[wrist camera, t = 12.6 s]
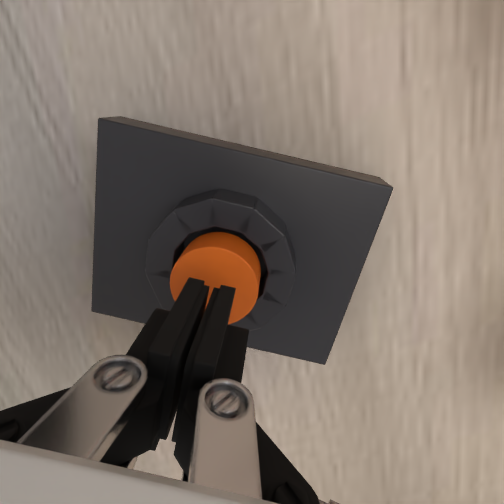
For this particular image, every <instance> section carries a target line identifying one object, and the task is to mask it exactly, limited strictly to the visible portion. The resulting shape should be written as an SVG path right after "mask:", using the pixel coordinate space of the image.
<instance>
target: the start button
mask: <svg viewBox="0 0 504 504" xmlns="http://www.w3.org/2000/svg"><path fill="white" fill-rule="evenodd" d="M260 276H261V267H260V262H259V259H258V256H257V254H256V253H255V251H254V250H253V248H252V247H251V246H250V245H249V244H248V243H247V242H245V241H244V240H243V239H241V238H239V237H238V236H235V235H233V234H229V233H225V232H211V233H206V234H203V235H201V236H199V237H197V238H195V239H194V240H193V241H192V242H190V243H189V245H188V246H187V247H186V248H185V250H184V251H183V253H182V254H181V256H180V257H179V259H178V260H177V262H176V263H175V265H174V267H173V269H172V272H171V276H170V289H171V294H172V296H173V299H174V301H176V300H177V298H178V296H179V294H180V292H181V291H182V289H183V287H184V285H185V283H186V282H187V280H188V278H189V277H191V278H195V279H199V280H204V281H205V283H204V285H207V286H209V293H208V298H207V303H206V307H207V304H208V302H209V299H210V296H211V294H212V291H213V289H214V287H216V288H220V286H221V285H225V286H229V287H234V288H236V291H235V295H234V300H233V304H232V309H231V313H230V317H229V322H228V324H232V323H234V322H237V321H239V320H241V319H242V318H244V317H245V316H246V315H247V314H248V313H249V312H250V311H251V310H252V308H253V307H254V305H255V303H256V301H257V298H258V292H259V284H260ZM205 309H206V308H205Z"/></svg>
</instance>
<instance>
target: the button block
mask: <svg viewBox="0 0 504 504" xmlns="http://www.w3.org/2000/svg"><path fill="white" fill-rule="evenodd" d="M392 191H393V187H392V186H390V185H389V184H388V183H386V182H385V181H384V180H382V179H381V178H380V177H375V176H371V175H367V174H363V173H358V172H354V171H350V170H346V169H341V168H337V167H333V166H329V165H324V164H320V163H316V162H312V161H307V160H303V159H299V158H295V157H291V156H286V155H282V154H278V153H274V152H269V151H265V150H261V149H257V148H252V147H248V146H244V145H240V144H235V143H231V142H227V141H223V140H218V139H214V138H210V137H206V136H201V135H197V134H193V133H189V132H184V131H180V130H176V129H172V128H167V127H163V126H159V125H155V124H150V123H146V122H142V121H138V120H134V119H129V118H125V117H121V116H120V117H107V118H99V119H98V140H97V169H96V197H95V226H94V255H93V284H92V312H96V313H101V314H105V315H110V316H114V317H118V318H123V319H127V320H131V321H136V322H140V323H144V324H146V322H147V321H148V319H149V318H150V316H151V314H152V313H153V311H154V310H155V309H156V308H159V309H164V310H168V311H170V310H171V309H172V307H173V305H174V303H175V301H174V299H173V296H172V294H171V289H170V276H171V272H172V269H173V267H174V265H175V263H176V262H177V260H178V259H179V257H180V256H181V254H182V253H183V251H184V250H185V248H186V247H187V246H188V245H189V243H190V242H192V241H193V240H194V239H195V238H197V237H199V236H201V235H203V234H206V233H211V232H225V233H229V234H233V235H235V236H238V237H239V238H241V239H243V240H244V241H245V242H247V243H248V244H249V245H250V246H251V247H252V248H253V250H254V251H255V253H256V254H257V256H258V259H259V262H260V267H261V276H260V284H259V292H258V298H257V301H256V303H255V305H254V307H253V308H252V310H251V311H250V312H249V313H248V314H247V315H246V316H245V317H244V318H242V319H241V320H239V321H237V322H234V323H232V324H228V325H233V326H237V327H241V328H245V329H249V335H248V341H247V347H249V348H254V349H258V350H262V351H267V352H271V353H276V354H280V355H284V356H289V357H293V358H297V359H302V360H306V361H310V362H315V363H319V364H324V365H325V364H326V361H327V359H328V356H329V353H330V351H331V348H332V346H333V343H334V341H335V338H336V335H337V333H338V330H339V328H340V325H341V322H342V320H343V317H344V315H345V312H346V310H347V307H348V304H349V302H350V299H351V297H352V294H353V291H354V289H355V286H356V284H357V281H358V278H359V276H360V273H361V271H362V268H363V266H364V263H365V260H366V258H367V255H368V253H369V250H370V247H371V245H372V242H373V240H374V237H375V234H376V232H377V229H378V227H379V224H380V222H381V219H382V216H383V214H384V211H385V209H386V206H387V203H388V201H389V198H390V196H391V193H392Z"/></svg>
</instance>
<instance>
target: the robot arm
mask: <svg viewBox="0 0 504 504" xmlns="http://www.w3.org/2000/svg"><path fill="white" fill-rule="evenodd" d="M204 283H205V281H204V280H199V279H195V278H191V277H189V278H188V280H187V282H186V283H185V285H184V287H183V289H182V291H181V292H180V294H179V296H178V298H177V300H176V301H175V303H174V305H173V307H172V309H171V310H170V311H168V310H164V309H159V308H156V309H155V310H154V311H153V313H152V314H151V316H150V318H149V319H148V321H147V322H146V324H145V326H144V327H143V329H142V330H141V332H140V333H139V335H138V337H137V338H136V340H135V341H134V343H133V344H132V346H131V348H130V349H129V351H128V352H127V354H126V355H114V356H109V357H106V358H104V359H101V360H99V361H98V362H97V363H95V364H94V365H93V366H92V367H91V368H90V369H89V370H88V371H87V372H86V373H85V374H84V375H83V376H82V377H81V378H80V379H79V380H78V381H77V382H76V383H75V384H74V385H73V386H72V387H70V388H67V389H64V390H61V391H58V392H55V393H52V394H49V395H46V396H44V397H41V398H38V399H35V400H32V401H29V402H26V403H23V404H20V405H17V406H14V407H11V408H8V409H5V410H2V411H0V504H327V503H325V502H323V501H321V500H319V499H318V497H317V495H316V493H315V492H314V490H313V489H312V487H311V486H310V485H309V484H308V482H307V481H306V480H305V479H304V478H303V477H302V475H301V474H300V473H299V472H298V471H297V469H296V468H295V467H294V466H293V465H292V464H291V462H290V461H289V460H288V459H287V458H286V457H285V455H284V454H283V453H282V452H281V451H280V449H279V448H278V447H277V446H276V445H275V444H274V442H273V441H272V440H271V439H270V438H269V437H268V435H267V434H266V433H265V432H264V431H263V430H262V428H261V427H260V426H259V425H258V424H257V422H256V420H255V408H254V400H253V397H252V394H251V393H250V391H249V390H248V389H247V388H246V387H245V386H244V385H243V384H241V380H242V374H243V367H244V361H245V354H246V348H247V341H248V335H249V329H245V328H241V327H237V326H233V325H228V322H229V317H230V313H231V309H232V304H233V300H234V295H235V291H236V288H234V287H229V286H225V285H221V286H220V288H216V287H214V289H213V291H212V294H211V296H210V299H209V302H208V304H207V307H206V303H207V298H208V293H209V286H207V285H204ZM205 308H206V309H205ZM176 411H177V413H176ZM175 414H176V419H175V425H174V430H173V436H172V441H173V442H176V445H175V451H174V456H175V458H176V459H177V461H178V463H179V464H180V466H181V468H182V469H183V474H182V479H181V480H176V479H172V478H167V477H163V476H159V475H154V474H150V473H146V472H141V471H137V470H133V468H134V466H135V463H136V461H137V456H139V455H141V454H143V453H144V452H146V451H148V450H154V451H155V450H156V447H157V444H158V442H159V439H164V440H166V439H167V437H168V434H169V431H170V428H171V425H172V422H173V420H174V417H175ZM328 504H339V503H337V502H335V501H333V500H330V501H329V503H328Z"/></svg>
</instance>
